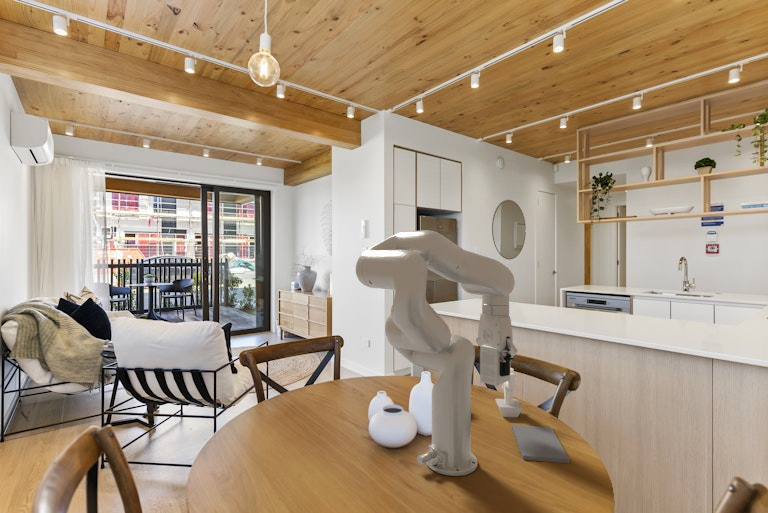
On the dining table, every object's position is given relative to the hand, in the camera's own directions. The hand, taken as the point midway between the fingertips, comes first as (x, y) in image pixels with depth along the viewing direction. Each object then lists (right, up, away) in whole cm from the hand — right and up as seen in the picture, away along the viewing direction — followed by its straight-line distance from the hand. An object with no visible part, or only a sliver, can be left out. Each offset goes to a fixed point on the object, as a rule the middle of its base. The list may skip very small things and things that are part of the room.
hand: (495, 371), depth 113 cm
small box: (0, -3, 0) cm, 3 cm away
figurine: (+8, -18, +13) cm, 23 cm away
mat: (+10, -18, -7) cm, 21 cm away
